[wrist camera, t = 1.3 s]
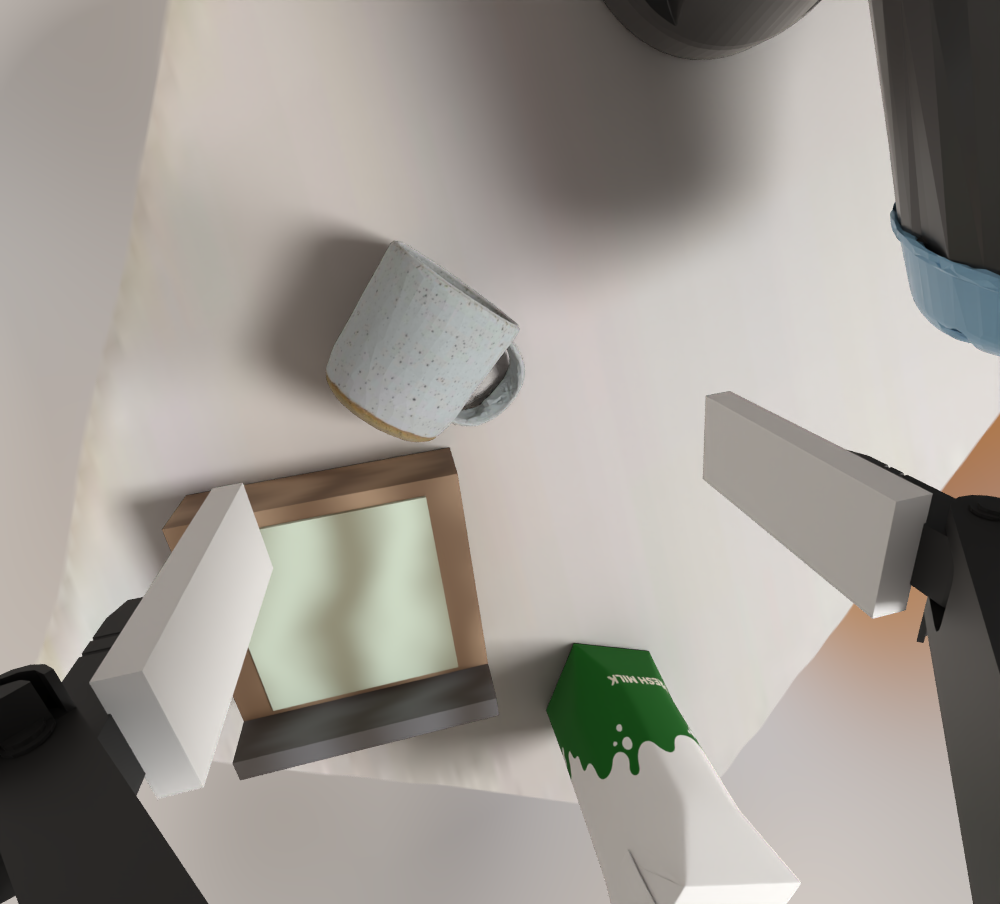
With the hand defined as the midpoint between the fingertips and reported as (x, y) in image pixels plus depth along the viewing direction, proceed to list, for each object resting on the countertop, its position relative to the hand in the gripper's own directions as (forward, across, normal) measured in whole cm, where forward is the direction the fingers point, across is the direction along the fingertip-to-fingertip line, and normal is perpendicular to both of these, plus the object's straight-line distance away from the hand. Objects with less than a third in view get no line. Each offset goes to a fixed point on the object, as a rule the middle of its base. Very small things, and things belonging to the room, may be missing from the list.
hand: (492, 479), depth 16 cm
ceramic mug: (+19, 0, 0) cm, 19 cm away
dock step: (+18, -8, -15) cm, 25 cm away
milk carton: (+19, +8, -30) cm, 36 cm away
